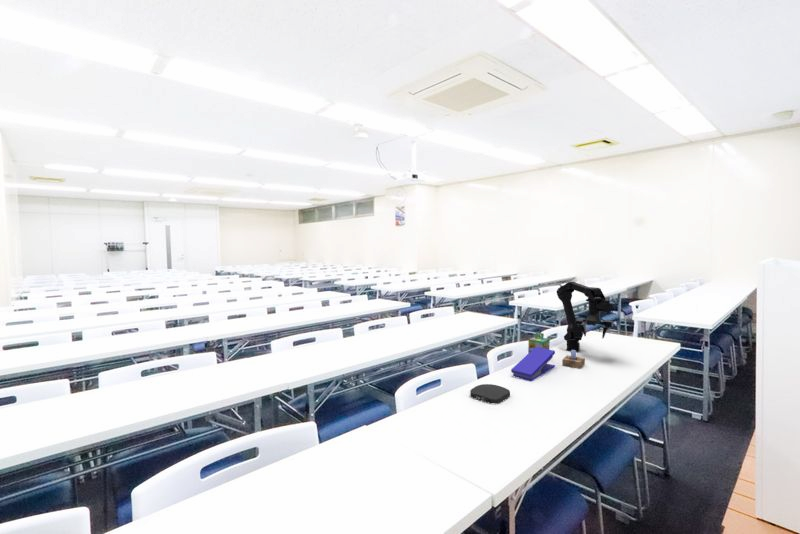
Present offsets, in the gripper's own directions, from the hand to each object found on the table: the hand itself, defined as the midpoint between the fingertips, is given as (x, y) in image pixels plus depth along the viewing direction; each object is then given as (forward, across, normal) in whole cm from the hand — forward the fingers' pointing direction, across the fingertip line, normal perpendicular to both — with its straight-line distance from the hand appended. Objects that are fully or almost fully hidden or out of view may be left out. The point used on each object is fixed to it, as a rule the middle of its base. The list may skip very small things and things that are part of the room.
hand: (594, 337), depth 219 cm
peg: (+12, -6, -19) cm, 23 cm away
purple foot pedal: (+13, -20, -41) cm, 47 cm away
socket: (+12, -6, -19) cm, 23 cm away
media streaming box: (+13, -24, -83) cm, 87 cm away
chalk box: (+12, -25, -18) cm, 33 cm away
